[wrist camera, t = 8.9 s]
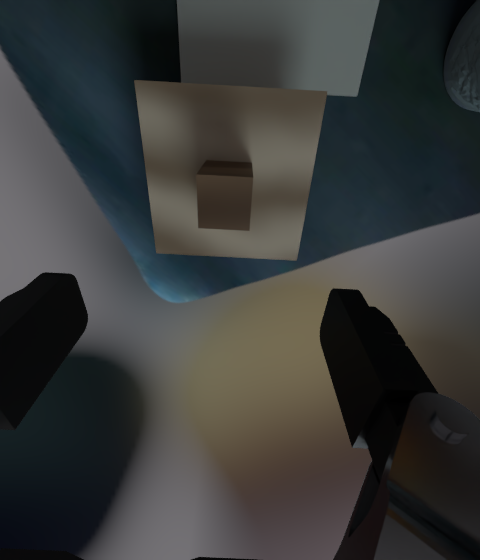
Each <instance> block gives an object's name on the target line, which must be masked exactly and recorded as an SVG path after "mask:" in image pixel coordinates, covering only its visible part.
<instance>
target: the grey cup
mask: <svg viewBox="0 0 480 560" xmlns="http://www.w3.org/2000/svg"><path fill="white" fill-rule="evenodd" d="M443 77H444V83H445V87H446V90H447V92H448V94H449V96H450V97H451V99H452V100H453V101H454V102H455V103H456V104H458V105H459V106H461V107H463V108H465V109H468V110H472V111H477V112H480V0H476V2H475V3H474V4H473V5H472V6H471V7H470V8H469V10H468V11H467V12H466V13H465V15H464V16H463V17H462V19H461V21H460V22H459V24H458V26H457V27H456V29H455V31H454V33H453V35H452V37H451V40H450V43H449V45H448V48H447V52H446V56H445V60H444V73H443Z"/></svg>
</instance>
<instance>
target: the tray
mask: <svg viewBox="0 0 480 560" xmlns="http://www.w3.org/2000/svg"><path fill="white" fill-rule="evenodd" d="M378 3H379V0H177V12H178V31H179V50H180V68H181V83H195V84H212V85H229V86H246V87H263V88H281V89H298V90H315V91H327V95H339V96H357V94H358V90H359V86H360V81H361V77H362V73H363V68H364V64H365V60H366V55H367V51H368V47H369V42H370V38H371V34H372V29H373V25H374V21H375V16H376V12H377V8H378Z"/></svg>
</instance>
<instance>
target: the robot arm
mask: <svg viewBox="0 0 480 560" xmlns="http://www.w3.org/2000/svg"><path fill="white" fill-rule="evenodd" d="M87 322H88V314H87V310H86V307H85V304H84V301H83V298H82V295H81V291H80V288H79V285H78V282H77V280H76V278H75V276H74V275H72V274H65V273H42V274H40V275H39V276H38V277H37V278H36V279H34V280H33V281H32V282H31V283H30V284H28V285H27V286H26V287H25V288H23V289H21V290H19V291H17V292H15V293H13V294H11V295H9V296H7V297H6V298H4V299H3V300H2V301H1V302H0V429H5V430H6V429H8V430H15V429H16V428H17V426H18V425H19V424H20V422H21V421H22V419H23V418H24V417H25V415H26V413H27V412H28V410H29V409H30V408H31V407H32V405H33V404H34V402H35V401H36V399H37V398H38V397H39V395H40V394H41V392H42V391H43V389H44V388H45V387H46V385H47V384H48V382H49V381H50V380H51V378H52V377H53V375H54V374H55V372H56V371H57V370H58V368H59V367H60V365H61V364H62V362H63V361H64V360H65V358H66V357H67V355H68V354H69V353H70V351H71V350H72V348H73V346H74V345H75V344H76V343H77V341H78V340H79V338H80V337H81V335H82V334H83V333H84V331H85V329H86V326H87ZM320 342H321V346H322V349H323V353H324V356H325V359H326V363H327V366H328V369H329V373H330V376H331V379H332V383H333V386H334V389H335V393H336V396H337V399H338V402H339V405H340V409H341V412H342V416H343V419H344V422H345V426H346V429H347V432H348V435H349V439H350V442H351V445H352V447H353V448H368V449H369V452H370V455H371V458H372V462H371V463H370V465H369V468H368V471H367V473H366V476H365V479H364V482H363V485H362V487H361V490H360V493H359V496H358V499H357V501H356V504H355V507H354V510H353V512H352V516H351V518H350V521H349V524H348V526H347V529H346V532H345V535H344V537H343V540H342V542H341V545H340V547H339V549H338V551H337V553H336V555H335V557H334V559H333V560H480V420H479V419H478V418H477V417H476V416H475V415H474V414H473V413H472V412H471V411H470V410H468V409H467V408H466V407H464V406H463V405H462V404H460V403H458V402H456V401H455V400H453V399H451V398H449V397H446V396H443V395H441V394H438V392H437V391H436V389H435V388H434V386H433V385H432V383H431V382H430V380H429V378H428V377H427V375H426V374H425V372H424V371H423V369H422V368H421V366H420V365H419V364H418V362H417V360H416V359H415V357H414V355H413V354H412V352H411V351H410V349H409V348H408V347H407V346H405V342H404V340H403V339H402V337H401V336H400V335H398V331H397V329H396V328H395V326H394V325H393V323H392V322H391V320H390V319H389V318H388V317H387V316H386V315H384V314H383V313H382V312H381V311H380V310H378V309H377V308H376V307H369V306H368V304H367V302H366V301H365V299H364V297H363V295H362V294H361V292H360V291H359V290H353V289H332V290H331V292H330V294H329V298H328V301H327V305H326V308H325V312H324V316H323V319H322V323H321V327H320ZM0 560H83V559H81V558H79V557H77V556H75V555H73V554H71V553H69V552H67V551H49V550H48V551H47V550H25V549H24V550H23V549H3V548H1V550H0ZM192 560H254V559H233V558H232V559H231V558H210V557H198V558H195V559H192ZM255 560H256V559H255Z"/></svg>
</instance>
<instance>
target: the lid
mask: <svg viewBox="0 0 480 560" xmlns="http://www.w3.org/2000/svg"><path fill="white" fill-rule="evenodd" d="M134 82H135V90H136V98H137V106H138V113H139V121H140V129H141V137H142V145H143V152H144V160H145V168H146V176H147V184H148V191H149V199H150V207H151V215H152V222H153V230H154V238H155V246H156V253H164V254H183V255H202V256H221V257H240V258H259V259H278V260H297V256H298V251H299V245H300V240H301V234H302V229H303V223H304V218H305V212H306V207H307V201H308V196H309V190H310V184H311V179H312V173H313V168H314V162H315V157H316V151H317V146H318V140H319V135H320V129H321V124H322V118H323V113H324V107H325V102H326V96H327V91H315V90H298V89H281V88H263V87H246V86H229V85H212V84H195V83H177V82H160V81H143V80H134Z"/></svg>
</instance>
